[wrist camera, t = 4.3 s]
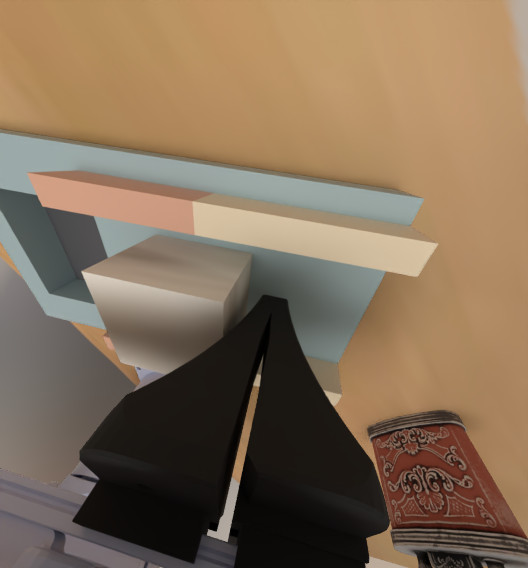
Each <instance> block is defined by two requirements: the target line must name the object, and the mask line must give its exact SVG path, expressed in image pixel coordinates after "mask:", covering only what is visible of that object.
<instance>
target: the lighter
mask: <svg viewBox="0 0 528 568" xmlns="http://www.w3.org/2000/svg"><path fill="white" fill-rule="evenodd" d="M367 430H368V435H369V439H370V442H371V443H372V444H373V448H374V452H375V457H376V461H377V465H378V470H379V474H380V478H381V483H382V487H383V491H384V496H385V500H386V504H387V509H388V513H389V517H390V522H391V526H392V530H390V533H391V537H392V542H393V546H394V549H396V550H397V551H399V552H402V553H404V554H408V555H411V556H416V557H417V559H418V564H419V568H432V566H433V567H434V568H483V566H488V568H528V539H527V537H526V535H525V533H524V532H523V530H522V528H521V527H520V525H519V523H518V521H517V520H516V518H515V516H514V515H513V513H512V511H511V509H510V508H509V506H508V504H507V503H506V501H505V499H504V497H503V496H502V494H501V492H500V490H499V489H498V487H497V485H496V484H495V482H494V480H493V478H492V477H491V475H490V473H489V472H488V470H487V468H486V466H485V465H484V463H483V461H482V460H481V458H480V456H479V454H478V453H477V451H476V449H475V448H474V446H473V444H472V442H471V441H470V439H469V437H468V436H467V434H466V431H467V429H466V428H465V426H464V424H463V422H462V421H461V419H460V417H459V416H458V415H457V414H456V413H453V412H451V411H445V410H441V411H431V412H423V413H416V414H411V415H406V416H400V417H396V418H393V419H389V420H385V421H382V422H379V423H377V424H374V425H371V426H369V427H368V429H367ZM429 559H430V560H429ZM430 562H431V563H430ZM431 564H432V566H431Z"/></svg>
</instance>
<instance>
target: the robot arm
mask: <svg viewBox="0 0 528 568" xmlns="http://www.w3.org/2000/svg"><path fill="white" fill-rule="evenodd" d="M262 357H263V363H262V371H261V379H260V387H259V393H258V399H257V404H256V408H255V413H254V418H253V423H252V428H251V432H250V437H249V442H248V447H247V452H246V456H245V461H244V466H243V471H242V476H241V481H240V485H239V490H238V495H237V500H236V505H235V510H234V514H233V519H232V524H231V529H230V533H229V539H228V542H225V541H222V540H219V539H216V538H213V537H210V536H207V532H208V529H209V530H213V531H217V529H218V524H219V520H220V518H221V517H222V515H223V513H224V509H225V504H226V499H227V495H228V491H229V487H230V482H231V478H232V473H233V469H234V465H235V460H236V456H237V451H238V447H239V443H240V438H241V434H242V430H243V425H244V421H245V417H246V412H247V408H248V404H249V400H250V395H251V392H252V388H253V385H254V382H255V378H256V375H257V372H258V369H259V366H260V363H261V360H262ZM135 369H136V371H137V374H138V377H139V379H140V383H139V384H138V386H137V387H136V389H135V390H134V391H133V392H131V393H129V394H127V395H126V396H125V397H124V398H123V399H122V400H121V402H120V403H119V404H118V405H117V406H116V407H115V408H114V409H113V410H112V411H111V412H110V413H109V415H108V416H107V417H106V418H105V419H104V421H103V422H102V423H101V424H100V426H99V427H98V428H97V430H96V431H95V432H94V434H93V435H92V436H91V437H90V439H89V440H88V441H87V442H86V444H85V445H84V446H83V448H82V449H81V450H80V461H81V462H80V463H79V464H78V465H77V467H76V468H75V470H74V471H73V472H72V473H71V475H68V476H67V477H66V478H65V479H64V481H63V482H62V483H61V485H60V486H59V487H57V486H58V485H59V483H57V482H55V481H51V482H50V483H48V484H47V483H44V482H41V481H38V480H35V479H32V478H29V477H26V476H22V475H20V474H16V473H14V472H11V471H8V470H4V469H1V468H0V568H159V567H163V568H365V563H366V564H367V563H369V553H368V546H367V540H366V538H368V537H371V536H374V535H377V534H380V533H382V532H384V531H385V530H387V528H388V527H389V523H390V519H389V515H388V511H387V506H386V502H385V498H384V494H383V491H382V488H381V485H380V482H379V479H378V476H377V473H376V470H375V467H374V464H373V462H372V460H371V459H370V458H369V456H368V455H367V454H366V452H365V451H364V450H363V448H362V447H361V446H360V444H359V443H358V442H357V440H356V439H355V437H354V436H353V435H352V433H351V432H350V430H349V429H348V428H347V426H346V425H345V423H344V422H343V420H342V419H341V417H340V416H339V414H338V413H337V411H336V410H335V408H334V407H333V405H332V404H331V402H330V400H329V399H328V397H327V396H326V394H325V392H324V391H323V389H322V387H321V386H320V384H319V382H318V381H317V379H316V377H315V375H314V373H313V371H312V369H311V367H310V365H309V363H308V361H307V359H306V357H305V355H304V353H303V350H302V348H301V346H300V343H299V341H298V338H297V335H296V332H295V329H294V326H293V323H292V319H291V315H290V311H289V305H288V300H287V299H284V298H279V297H275V296H270V295H265V294H264V295H262V296H261V298H260V299H259V301H258V302H257V304H256V305H255V306H254V307H253V308H252V310H251V311H250V312H249V313H248V314H247V315H246V316H245V317H244V318H243V319H242V320H241V321H240V322H239V323H238V324H237V325H236V326H235V327H234V328H233V329H232V330H231V331H229V332H228V333H227V334H226V335H225V336H224V337H222V338H221V339H220V340H219V341H217V342H216V343H215V344H213V345H212V346H211V347H209V348H208V349H206V350H205V351H204V352H202V353H201V354H199V355H198V356H196V357H195V358H193V359H192V360H190V361H188V362H187V363H185V364H183V365H182V366H180V367H178V368H177V369H175V370H173V371H172V372H170V373H168V374H162V373H159V372H155V371H151V370H147V369H143V368H139V367H135Z"/></svg>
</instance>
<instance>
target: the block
mask: <svg viewBox="0 0 528 568" xmlns="http://www.w3.org/2000/svg"><path fill="white" fill-rule="evenodd" d="M252 254H253V253H249V252H244V251H239V250H234V249H229V248H224V247H219V246H213V245H208V244H203V243H198V242H193V241H188V240H183V239H178V238H173V237H167V236H162V235H157V234H156V235H154V236H152V237H150V238H148V239H146V240H144V241H142V242H140V243H138V244H136V245H134V246H132V247H130V248H127V249H125V250H123V251H121V252H119V253H117V254H115V255H113V256H111V257H109V258H107V259H105V260H103V261H101V262H99V263H97V264H95V265H93V266H91V267H89V268H87V269H85V270H83V271H81V272H82V274H83V277H84V279H85V281H86V284H87V286H88V288H89V291H90V293H91V295H92V298H93V300H94V302H95V305H96V307H97V309H98V311H99V314H100V316H101V318H102V321H103V323H104V325H105V328H106V330H107V332H108V335H109V337H110V339H111V342H112V344H113V346H114V348H115V351H116V353H117V355H118V358H119V360H120V362H121V363H124V364H128V365H131V366H135V367H139V368H143V369H147V370H151V371H155V372H159V373H162V374H168V373H170V372H172V371H173V370H175V369H177V368H178V367H180V366H182V365H183V364H185V363H187V362H188V361H190V360H192V359H193V358H195V357H196V356H198V355H199V354H201V353H202V352H204V351H205V350H206V349H208V348H209V347H211V346H212V345H213V344H215V343H216V342H217V341H219V340H220V339H221V338H222V337H224V336H225V335H226V334H227V333H228V332H229V331H231V330H232V329H233V328H234V327H235V326H236V325H237V324H238V323H239V322H240V321H241V320H242V319H243V318H244V317H245V316H246V312H247V302H248V292H249V283H250V273H251V263H252Z"/></svg>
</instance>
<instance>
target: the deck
mask: <svg viewBox="0 0 528 568" xmlns="http://www.w3.org/2000/svg"><path fill="white" fill-rule="evenodd" d="M423 201H424V198H421V197H418V196H415V195H411V194H408V193H405V192H402V191H399V190H394V189H387V188H381V187H374V186H368V185H361V184H355V183H348V182H342V181H335V180H329V179H322V178H316V177H309V176H303V175H296V174H290V173H283V172H277V171H270V170H264V169H257V168H251V167H244V166H238V165H231V164H225V163H218V162H212V161H205V160H199V159H192V158H186V157H179V156H173V155H166V154H160V153H153V152H146V151H140V150H133V149H127V148H120V147H114V146H107V145H101V144H94V143H88V142H81V141H75V140H68V139H62V138H55V137H49V136H42V135H36V134H29V133H23V132H16V131H10V130H3V129H0V242H1V243H2V245H3V247H4V248H5V250H6V251H7V253H8V255H9V256H10V258H11V259H12V261H13V262H14V264H15V266H16V267H17V269H18V270H19V272H20V274H21V275H22V277H23V278H24V280H25V281H26V283H27V285H28V286H29V288H30V289H31V291H32V293H33V294H34V296H35V297H36V299H37V300H38V302H39V304H40V305H41V306H42V308H43V310H44V311H45V313H46V315H48V316H51V317H56V318H60V319H64V320H68V321H72V322H76V323H80V324H85V325H89V326H93V327H97V328H101V329H105V330H106V328H105V325H104V323H103V321H102V318H101V316H100V314H99V311H98V309H97V307H96V305H95V302H94V300H93V298H92V295H91V293H90V291H89V288H88V286H87V284H86V281H85V279H84V277H83V274H82V272H81V271H83V270H85V269H87V268H89V267H91V266H93V265H95V264H97V263H99V262H101V261H103V260H105V259H107V258H109V257H111V256H113V255H115V254H117V253H119V252H121V251H123V250H125V249H127V248H130V247H132V246H134V245H136V244H138V243H140V242H142V241H144V240H146V239H148V238H150V237H152V236H154V235H156V234H157V235H162V236H167V237H173V238H178V239H183V240H188V241H193V242H198V243H203V244H208V245H213V246H219V247H224V248H229V249H234V250H239V251H244V252H249V253H253V254H252V263H251V273H250V283H249V292H248V302H247V312H246V315H247V314H248V313H249V312H250V311H251V310H252V308H253V307H254V306H255V305H256V304H257V302H258V301H259V299H260V298H261V296H262V295H264V294H265V295H270V296H275V297H279V298H284V299H287V300H288V305H289V311H290V315H291V319H292V323H293V326H294V329H295V332H296V335H297V338H298V341H299V343H300V346H301V348H302V350H303V353H304V355H305V357H306V359H307V361H308V363H309V365H310V367H311V369H312V371H313V373H314V375H315V377H316V379H317V381H318V382H319V384H320V386H321V387H322V389H323V391H324V392H325V394H326V396H327V397H328V399H329V400H330V402H331V404H332V405H334V406H336V404H337V402H338V401H339V399H340V398H341V396H342V390H341V383H340V377H339V370H338V362H339V360H340V358H341V356H342V354H343V353H344V351H345V349H346V347H347V345H348V343H349V341H350V339H351V337H352V335H353V334H354V332H355V330H356V328H357V326H358V324H359V322H360V320H361V318H362V316H363V315H364V313H365V311H366V309H367V307H368V305H369V303H370V301H371V299H372V297H373V296H374V294H375V292H376V290H377V288H378V286H379V284H380V282H381V280H382V278H383V277H384V275H385V273H386V271H388V272H393V273H398V274H404V275H409V276H414V277H418V275H419V274H420V272H421V270H422V269H423V267H424V266H425V264H426V262H427V261H428V259H429V258H430V256H431V255H432V253H433V251H434V250H435V248H436V247H437V245H438V243H436V242H435V241H433V240H432V239H430V238H428V237H427V236H425V235H424V234H422V233H420V232H419V231H417V230H416V229H414V228H413V227H411V226H410V225H411V223H412V221H413V220H414V218H415V216H416V214H417V212H418V210H419V208H420V206H421V204H422V202H423ZM103 338H104V340H105V343H106V345H107V347H108V349H111V350H115V348H114V346H113V344H112V342H111V339H110V337H109V335H108V332H107V333H105V334H104V335H103ZM262 363H263V357H262V360H261V363H260V366H259V369H258V372H257V375H256V378H255V382H254V386H258V387H260V379H261V371H262Z"/></svg>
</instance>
